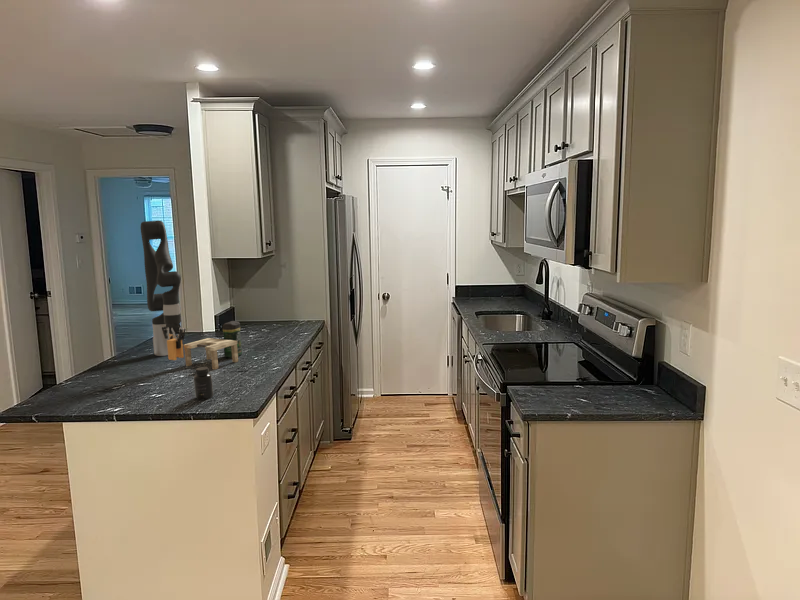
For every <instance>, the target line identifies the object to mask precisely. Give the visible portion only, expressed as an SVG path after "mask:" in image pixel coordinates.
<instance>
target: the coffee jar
mask: <svg viewBox="0 0 800 600" xmlns="http://www.w3.org/2000/svg"><path fill="white" fill-rule="evenodd" d="M222 333H223V340H234V341H237V343H238V344H237V350H238V357H240V356H241V355H242V354H243V348H242V340H241V323H240V321H238V320H231V321H228V322H225V323H223V324H222ZM223 356H224V358H228V359H230V358H231V359H232V349H231V346H228V347H225V348H223Z"/></svg>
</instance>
